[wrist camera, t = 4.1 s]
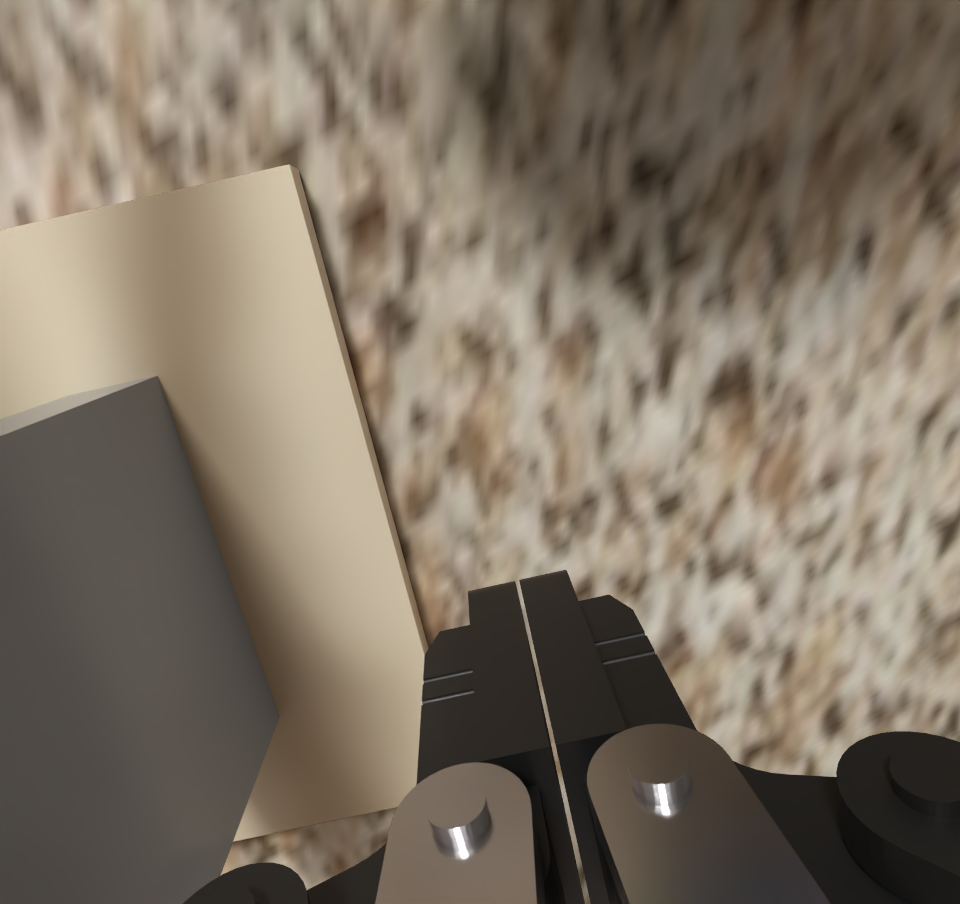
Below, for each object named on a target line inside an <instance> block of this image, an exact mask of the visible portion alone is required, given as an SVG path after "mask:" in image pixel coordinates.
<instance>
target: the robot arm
mask: <svg viewBox="0 0 960 904" xmlns="http://www.w3.org/2000/svg"><path fill="white" fill-rule="evenodd" d="M519 581H520V585H521V590H522V594H523V599H524V603H525V608H526V613H527V617H528V622H529V626H530V631H531V635H532V640H533V644H534V649H535V653H536V658H537V662H538V667H539V671H540V676H541V680H542V685H543V689H544V694H545V698H546V703H547V707H548V712H549V716H550V721H551V726H552V730H553V735H554V739H555V744H556V748H557V753H558V757H559V762H560V766H561V771H562V775H563V780H564V784H565V789H566V793H567V798H568V802H569V807H570V811H571V816H572V820H573V825H574V829H575V834H576V838H577V843H578V847H579V852H580V856H581V861H582V865H583V870H584V875H585V879H586V884H587V888H588V893H589V897H590V902H591V904H960V742H958V741H955V740H951V739H948V738H945V737H941V736H937V735H932V734H927V733H919V732H887V733H880V734H876V735H872V736H869V737H866V738H864V739H862V740H859V741H858V742H856V743H855V744H853V745H852V746H850V747H849V748H848V749H847V750H846V751H845V753H844V754H843V755H842V757H841V759H840V761H839V763H838V767H837V772H836V773H837V777H824V776H805V775H787V774H777V773H769V772H765V771H760V770H756V769H753V768H750V767H746V766H743V765H741V764H739V763H736V762H734V761H732V759H731V758H730V756H729V755H728V754H727V753H726V751H725V750H724V749H723V748H722V747H721V746H720V745H719V744H718V743H716V742H715V741H714V740H713V739H711V738H709V737H708V736H706V735H704V734H702V733H700V732H698V731H697V730H696V728H695V726H694V724H693V722H692V720H691V718H690V717H689V715H688V713H687V711H686V709H685V707H684V705H683V703H682V701H681V700H680V698H679V696H678V694H677V692H676V690H675V688H674V686H673V685H672V683H671V681H670V679H669V677H668V675H667V673H666V671H665V669H664V668H663V666H662V664H661V662H660V660H659V658H658V656H657V654H656V655H655V652H654V649H653V647H652V645H651V643H650V641H649V639H648V637H647V636H645V633H644V630H643V628H642V626H641V624H640V622H639V620H638V619H637V617H636V615H635V613H634V611H633V610H632V609H631V608H629V607H628V606H626V605H625V604H623V603H621V602H620V601H618V600H617V599H615V598H614V597H612V596H610V595H605V596H601V597H596V598H591V599H587V600H582V601H578V599H577V596H576V594H575V591H574V588H573V586H572V583H571V581H570V578H569V575H568V573H567V571H566V570H563V571H558V572H554V573H549V574H545V575H540V576H535V577H531V578H526V579H522V580H519ZM468 599H469V617H470V625H468V626H463V627H459V628H454V629H449V630H445V631H440V632H439V634H438V635H437V637H436V638H435V640H434V641H433V643H432V644H431V646H430V647H429V649H428V651H427V652H426V654H425V657H424V673H423V681H424V684H423V689H422V704H423V705H421V720H420V736H419V752H418V768H417V784H416V786H415V787H414V788H413V789H412V790H411V791H410V792H409V793H408V794H407V795H406V796H405V797H404V799H403V800H402V802H401V803H400V805H399V806H398V807H397V810H396V812H395V814H394V816H393V818H392V822H391V825H390V829H389V834H388V839H387V843H386V844H385V845H384V846H383V847H382V848H380V849H379V850H378V851H377V852H375V853H374V854H373V855H371V856H370V857H369V858H367V859H366V860H364V861H362V862H360V863H359V864H357V865H355V866H354V867H352V868H350V869H348V870H346V871H344V872H342V873H340V874H338V875H336V876H334V877H332V878H330V879H328V880H326V881H324V882H322V883H320V884H318V885H317V886H315V887H313V888H311V889H309V890H306V888H305V885H304V882H303V881H302V880H301V878H300V877H299V875H298V874H297V873H296V872H294V871H293V870H292V869H291V868H288V867H286V866H284V865H281V864H276V863H256V864H250V865H246V866H243V867H240V868H236V869H234V870H232V871H229V872H227V873H225V874H223V875H221V876H219V877H218V878H216V879H214V880H212V881H211V882H209V883H208V884H206V885H205V886H203V887H202V888H201V889H199V890H198V891H197V892H195V893H194V894H193V895H192V896H191V897H190V898H189V899H187V900H186V901H185V902H184V903H183V904H585V902H584V898H583V893H582V888H581V883H580V879H579V874H578V869H577V865H576V860H575V855H574V850H573V846H572V841H571V836H570V832H569V827H568V822H567V817H566V813H565V808H564V803H563V798H562V794H561V789H560V784H559V780H558V775H557V770H556V765H555V761H554V756H553V751H552V747H551V742H550V737H549V732H548V728H547V723H546V718H545V713H544V709H543V704H542V700H541V695H540V690H539V686H538V681H537V677H536V672H535V668H534V663H533V659H532V654H531V650H530V645H529V641H528V636H527V632H526V627H525V623H524V618H523V614H522V609H521V605H520V600H519V596H518V592H517V587H516V583H515V581H513V582H509V583H504V584H499V585H495V586H490V587H486V588H481V589H476V590H472V591H468Z"/></svg>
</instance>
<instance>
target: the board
mask: <svg viewBox="0 0 960 904" xmlns="http://www.w3.org/2000/svg"><path fill="white" fill-rule="evenodd" d="M154 376H158V378H159V381H160V384H161V387H162V389H163V392H164V395H165V398H166V401H167V403H168V406H169V409H170V412H171V415H172V417H173V420H174V423H175V426H176V429H177V431H178V434H179V437H180V440H181V443H182V445H183V448H184V451H185V454H186V456H187V459H188V462H189V465H190V468H191V470H192V473H193V476H194V479H195V482H196V484H197V487H198V490H199V493H200V496H201V498H202V501H203V504H204V507H205V510H206V512H207V515H208V518H209V521H210V524H211V526H212V529H213V532H214V535H215V537H216V540H217V543H218V546H219V549H220V551H221V554H222V557H223V560H224V563H225V565H226V568H227V571H228V574H229V577H230V579H231V582H232V585H233V588H234V591H235V593H236V596H237V599H238V602H239V605H240V607H241V610H242V613H243V616H244V619H245V621H246V624H247V627H248V630H249V632H250V635H251V638H252V641H253V644H254V646H255V649H256V652H257V655H258V658H259V660H260V663H261V666H262V669H263V672H264V674H265V677H266V680H267V683H268V686H269V688H270V691H271V694H272V697H273V700H274V702H275V705H276V708H277V711H278V713H279V716H280V718H279V720H278V723H277V726H276V728H275V731H274V734H273V736H272V739H271V742H270V744H269V747H268V750H267V752H266V755H265V758H264V760H263V763H262V766H261V768H260V771H259V774H258V776H257V779H256V782H255V784H254V787H253V790H252V792H251V795H250V798H249V800H248V803H247V806H246V808H245V811H244V814H243V816H242V819H241V822H240V824H239V827H238V830H237V832H236V835H235V838H234V840H233V842H234V841H239V840H243V839H248V838H253V837H258V836H262V835H267V834H272V833H277V832H282V831H286V830H291V829H296V828H301V827H305V826H310V825H315V824H320V823H324V822H329V821H334V820H339V819H343V818H348V817H353V816H358V815H362V814H367V813H372V812H377V811H381V810H386V809H391V808H396V807H398V806H399V805H400V803H401V802H402V800H403V799H404V797H405V796H406V795H407V794H408V793H409V792H410V791H411V790H412V789H413V788H414V787H415V786H416V784H417V768H418V752H419V736H420V720H421V705H423V704H422V689H423V684H424V681H423V673H424V657H425V654H426V652H427V651H428V645H427V641H426V638H425V634H424V630H423V627H422V623H421V619H420V616H419V612H418V608H417V604H416V601H415V597H414V593H413V590H412V586H411V582H410V579H409V575H408V571H407V568H406V564H405V560H404V557H403V553H402V549H401V546H400V542H399V538H398V535H397V531H396V527H395V524H394V520H393V516H392V513H391V509H390V505H389V502H388V498H387V494H386V491H385V487H384V483H383V480H382V476H381V472H380V469H379V465H378V461H377V457H376V454H375V450H374V446H373V443H372V439H371V435H370V432H369V428H368V424H367V421H366V417H365V413H364V410H363V406H362V402H361V399H360V395H359V391H358V388H357V384H356V380H355V377H354V373H353V369H352V366H351V362H350V358H349V355H348V351H347V347H346V344H345V340H344V336H343V333H342V329H341V325H340V322H339V318H338V314H337V311H336V307H335V303H334V299H333V296H332V292H331V288H330V285H329V281H328V277H327V274H326V270H325V266H324V263H323V259H322V255H321V252H320V248H319V244H318V241H317V237H316V233H315V230H314V226H313V222H312V219H311V215H310V211H309V208H308V204H307V200H306V197H305V193H304V189H303V186H302V182H301V178H300V175H299V171H298V169H296V168H295V167H293V166H291V165H290V164H289V165H284V166H280V167H276V168H271V169H267V170H263V171H258V172H254V173H249V174H245V175H241V176H236V177H232V178H228V179H223V180H219V181H214V182H210V183H206V184H201V185H197V186H193V187H188V188H184V189H179V190H175V191H171V192H166V193H162V194H157V195H153V196H149V197H144V198H140V199H136V200H131V201H127V202H122V203H118V204H114V205H109V206H105V207H101V208H96V209H92V210H87V211H83V212H79V213H74V214H70V215H66V216H61V217H57V218H52V219H48V220H44V221H39V222H35V223H30V224H26V225H22V226H17V227H13V228H9V229H4V230H0V419H2V418H5V417H8V416H11V415H14V414H17V413H20V412H23V411H25V410H28V409H31V408H34V407H37V406H40V405H43V404H46V403H48V402H51V401H54V400H57V399H60V398H63V397H66V396H69V395H73V394H77V393H82V392H86V391H91V390H95V389H100V388H104V387H109V386H113V385H118V384H122V383H127V382H131V381H136V380H140V379H145V378H149V377H154Z"/></svg>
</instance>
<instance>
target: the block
mask: <svg viewBox="0 0 960 904" xmlns="http://www.w3.org/2000/svg"><path fill="white" fill-rule="evenodd" d="M279 718H280V716H279V713H278V711H277V708H276V705H275V702H274V700H273V697H272V694H271V691H270V688H269V686H268V683H267V680H266V677H265V674H264V672H263V669H262V666H261V663H260V660H259V658H258V655H257V652H256V649H255V646H254V644H253V641H252V638H251V635H250V632H249V630H248V627H247V624H246V621H245V619H244V616H243V613H242V610H241V607H240V605H239V602H238V599H237V596H236V593H235V591H234V588H233V585H232V582H231V579H230V577H229V574H228V571H227V568H226V565H225V563H224V560H223V557H222V554H221V551H220V549H219V546H218V543H217V540H216V537H215V535H214V532H213V529H212V526H211V524H210V521H209V518H208V515H207V512H206V510H205V507H204V504H203V501H202V498H201V496H200V493H199V490H198V487H197V484H196V482H195V479H194V476H193V473H192V470H191V468H190V465H189V462H188V459H187V456H186V454H185V451H184V448H183V445H182V443H181V440H180V437H179V434H178V431H177V429H176V426H175V423H174V420H173V417H172V415H171V412H170V409H169V406H168V403H167V401H166V398H165V395H164V392H163V389H162V387H161V384H160V381H159V378H158V376H154V377H149V378H145V379H140V380H136V381H131V382H127V383H122V384H118V385H113V386H109V387H104V388H100V389H95V390H91V391H86V392H82V393H77V394H73V395H69V396H66V397H63V398H60V399H57V400H54V401H51V402H48V403H46V404H43V405H40V406H37V407H34V408H31V409H28V410H25V411H23V412H20V413H17V414H14V415H11V416H8V417H5V418H2V419H0V904H183V903H184V902H185V901H186V900H187V899H189V898H190V897H191V896H192V895H193V894H194V893H195V892H197V891H198V890H199V889H201V888H202V887H203V886H205V885H206V884H208V883H209V882H211V881H212V880H214V879H216V878H218V877H219V876H220V875H221V872H222V870H223V867H224V864H225V862H226V859H227V856H228V854H229V851H230V848H231V846H232V843H233V840H234V838H235V835H236V832H237V830H238V827H239V824H240V822H241V819H242V816H243V814H244V811H245V808H246V806H247V803H248V800H249V798H250V795H251V792H252V790H253V787H254V784H255V782H256V779H257V776H258V774H259V771H260V768H261V766H262V763H263V760H264V758H265V755H266V752H267V750H268V747H269V744H270V742H271V739H272V736H273V734H274V731H275V728H276V726H277V723H278V720H279Z"/></svg>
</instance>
